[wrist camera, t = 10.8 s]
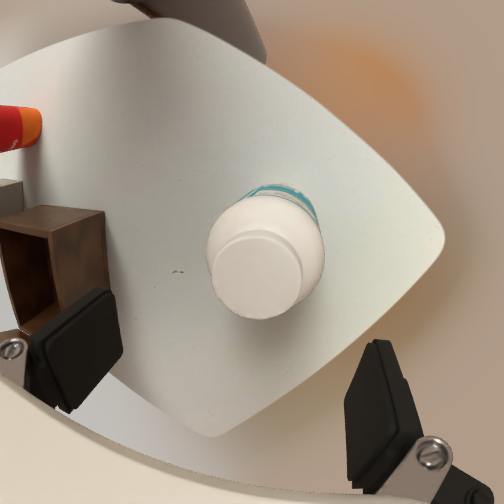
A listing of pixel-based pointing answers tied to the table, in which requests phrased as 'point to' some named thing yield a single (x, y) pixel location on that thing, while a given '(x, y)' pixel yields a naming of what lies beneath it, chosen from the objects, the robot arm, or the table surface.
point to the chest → (51, 260)
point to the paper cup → (18, 127)
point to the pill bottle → (266, 252)
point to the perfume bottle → (10, 197)
